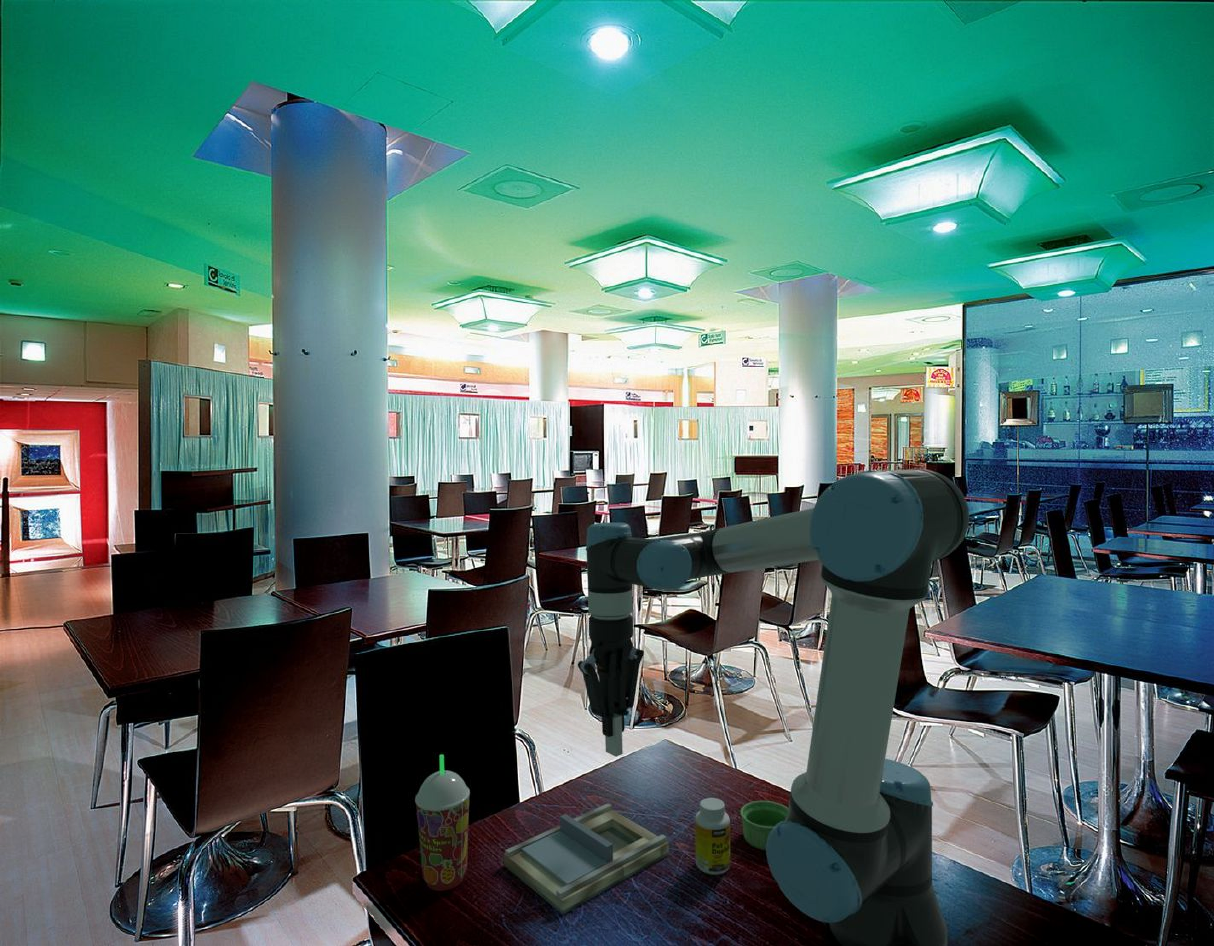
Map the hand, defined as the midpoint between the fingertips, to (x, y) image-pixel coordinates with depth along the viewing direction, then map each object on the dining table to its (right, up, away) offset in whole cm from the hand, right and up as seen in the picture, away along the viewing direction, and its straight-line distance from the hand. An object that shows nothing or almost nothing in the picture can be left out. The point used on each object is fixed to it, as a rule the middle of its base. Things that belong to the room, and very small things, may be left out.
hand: (614, 752), depth 116 cm
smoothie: (-27, -17, -8) cm, 33 cm away
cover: (-8, -14, -6) cm, 17 cm away
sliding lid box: (-4, -16, -3) cm, 17 cm away
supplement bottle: (+16, -16, -6) cm, 23 cm away
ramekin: (+26, -16, +2) cm, 31 cm away
